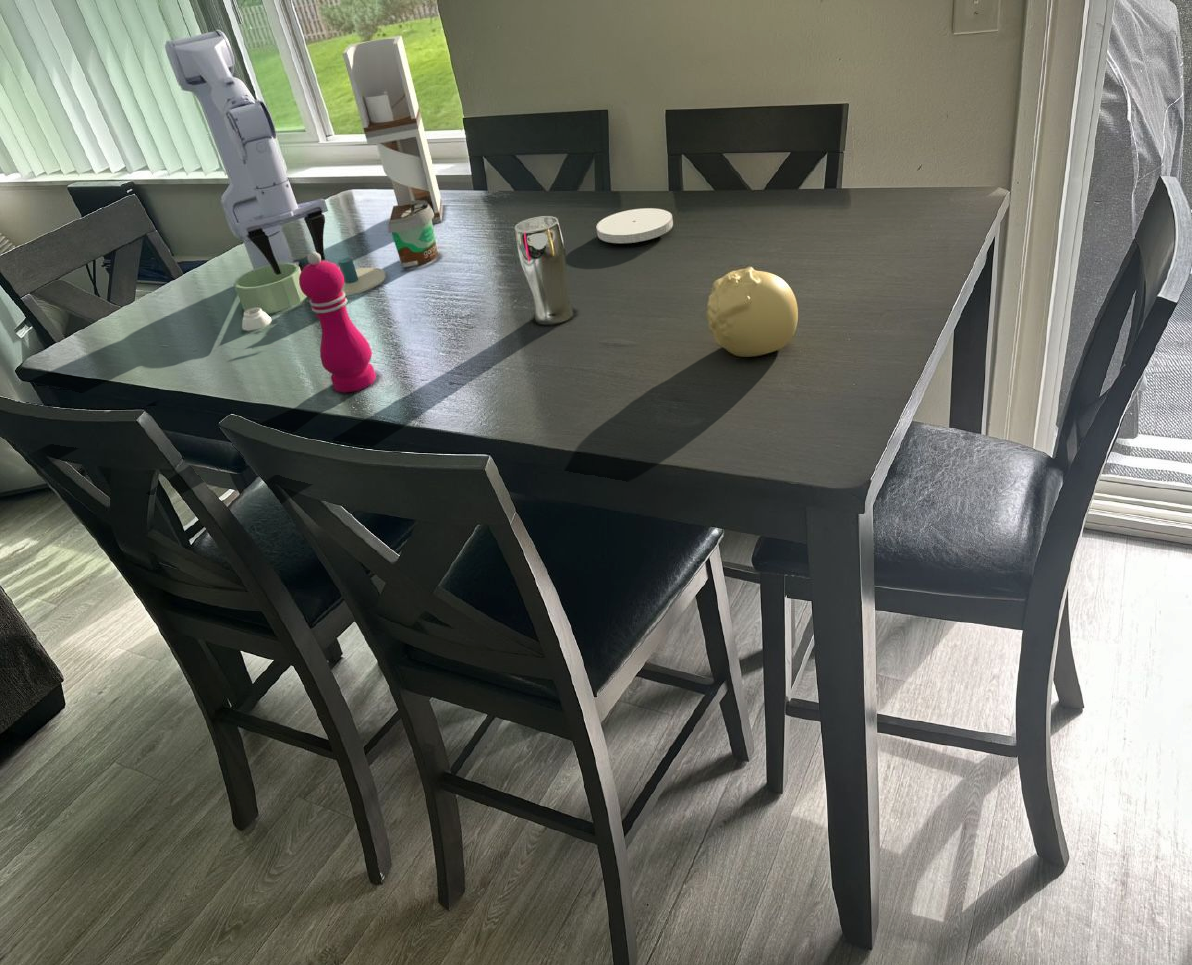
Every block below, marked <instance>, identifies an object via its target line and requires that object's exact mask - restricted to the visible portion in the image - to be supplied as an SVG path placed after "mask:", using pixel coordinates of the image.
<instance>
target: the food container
mask: <svg viewBox="0 0 1192 965" xmlns="http://www.w3.org/2000/svg"><path fill="white" fill-rule="evenodd" d="M410 204H411V206H410V207H409V208H408V209H407V210H406V211H403V212H401V213H400V215H399V216H398V218H397V219H396V220H390V219H389V220H387V226H388V232H389V233H390V234H391V236H392V239H393V243H394V245H395V249H396V251H397V254H398V257H399V261H400V263H401V266H402V269H411V268H416V267H419V266H423V265H425V264H428V263H430V262H432V261H434V260H435V259H436V258H437V257H438V248H437V242H436V236H435V231H434V226H433V224H432V218H433V217H434V213H433V210H432V208H431V207H430V205H429V204H428V203H427V202H425V201H420V200H412V201H410Z"/></svg>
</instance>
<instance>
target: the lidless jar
mask: <svg viewBox="0 0 1192 965" xmlns="http://www.w3.org/2000/svg"><path fill="white" fill-rule="evenodd" d="M242 314H243V317H242V322H241V328H242V330H244V331H256V330H259V329H263V328H264V327H266V326H269V325H270V324H271V323H272V320H273V319H272V318H271V316H269V314H266V313H265V312H264V311H262V309H261V308H252V309H249V310H247V311H243V313H242Z"/></svg>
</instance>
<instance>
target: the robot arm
mask: <svg viewBox="0 0 1192 965" xmlns="http://www.w3.org/2000/svg"><path fill="white" fill-rule="evenodd" d="M229 41H230V40H229V39H228V37H227V35H226V34H225V33H224V32H223V31H222V30H220V29H215V31H210V32H205V33H201V34H197V35H196V34H195V35H192V36H186V37H182V38H177V39H174V40H170V39H168V40H166V41H165V44H164V49H165V53H166V56H167V59H168V61H169V64H170V67H171V69H172V71H173V75H174V76H175V80H176V82H177V84H178V86H180V88H181V90H182V91H184V92H190V93H191V92H192V93H193V95H194V96H195V98H196V99H197V101H198V102H199V104H200V107H201V109H202V112H203V115H204V118H205V120H206V123H207V126H208V128H209V131H210V133H211V136H212V138H213V142H214V144H215V146H216V147H215V148H216V149H217V152H218V154H219V157H220V160H221V163H222V166H223V168H224V171H225V173H226V176H227V179H228V181H229V184H228V186H227V188H226V190H225V191H224V192H223V194H222V195H221V199H220V203H221V205H222V209H223V213H224V217H225V220H226V222H227V225H228V227H229V230H230V232H231V233H232V235H233V236H234V237H235V238H237V239H242V242H243V244H244V247H245V250H246V252H247V255H248V258H249V260H250V263H251V266H252V268H253V269H252V270H254V269H257V268H260V267H263V266H267V265H271V267H272V268H273V270H274V273H275V274H277V275H278V274H281V271H280V268H279V266H278V263H293V264H297V265H298V266H299V265H300V261H294V259H293V255H292V252H291V249H290V246H289V244H288V241H287V238H286V236H285V233H284V232H283V227H282V226H284V225H285V224H288V223H290V222H293V221H296V220H297V221H298V220H300V219H303V221H304V222H305V225H306V227H307V230H308V232H309V235H310V237H311V239H312V243H313V247H314V250H315V252H317V253H319V255H320V256H321V261H326V255H325V247H324V233H325V232H324V231H325V225H326V217H325V215H324V213H326V212H329V208H328V206H327V203H326V202H327V201H326V200H325V199H324V198H319V199H315V200H311V201H306V202H303V203H297V200H296V198H295V195H294V192H293V189H292V186H291V183H290V179H289V176H288V174H287V171H286V169H285V164H284V162H283V160H282V157H281V154H280V151H279V148H278V145H277V141H276V140H275V139H277V132H276V128H275V127H276V126H275V123H274V120H273V117H272V115H271V112H270V111H269V108H268V107H267V105H266V104H265V102H264V101H263V100H260V99H259V98H258V99H255V97H254V96H253V95H252V93H251V92H250V90H249V89H248V87H247V85H246V84H245V83H244V81H242V80H241V79H240V78H238V77H235V76H234V73H235V72H234V71H235V64H236V60H235V56H234V52H233V49H232V46H231V44H230V42H229Z"/></svg>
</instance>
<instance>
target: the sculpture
mask: <svg viewBox="0 0 1192 965" xmlns="http://www.w3.org/2000/svg"><path fill="white" fill-rule="evenodd" d="M798 308H799V307H798V303H797V299H796V296H795V294H794V292H793V290H792V288H791V286H790V285H789V284H788V283H787V281H785V280H784V279H783V278H781V277H780V276H778V275H776V274H774V273H771V272H768V271H762V270H756V269H754V268H753V267H752V266H748V267H746V268H742V269H737V270H732V271H730V272H728V273H726V274H725V275H723V277H721V278H718V279H716V280H715V281H714V282H713V284H712V288H711V294H710V295H708V302H707V312H706V320H707V322H708V323H709V325H708V330H709V332H710V333H712V335H713V339H714V341H715V343H717V345H718V346H719V347H720V348H723V349H724V350H726V351H727V352H729V353H730V354H731V355H734V356H736V357H742V358H747V357H748V358H750V357H758V356H759V357H760V356H763V355H767V354H770V353H773V352H776V351H779V350H780V349H782V348H784V347H786V346H787V345H788V344H789V343H790V342H791V340H792V338H793V337H794V335H795V332H796V329H797V326H798V320H799V309H798Z"/></svg>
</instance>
